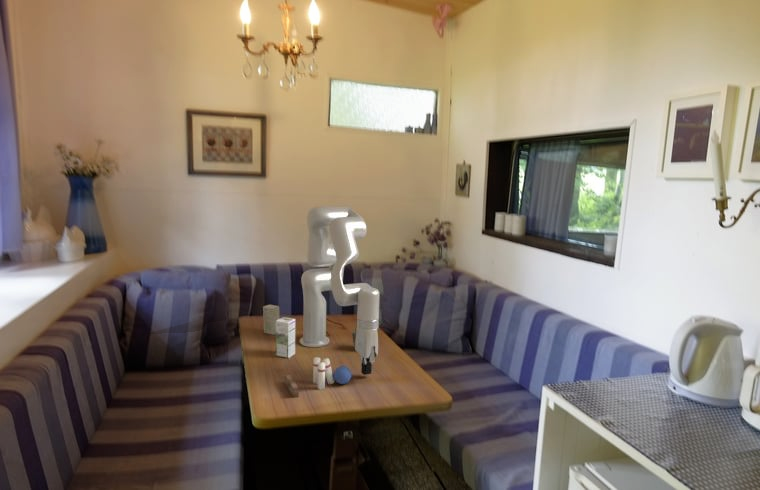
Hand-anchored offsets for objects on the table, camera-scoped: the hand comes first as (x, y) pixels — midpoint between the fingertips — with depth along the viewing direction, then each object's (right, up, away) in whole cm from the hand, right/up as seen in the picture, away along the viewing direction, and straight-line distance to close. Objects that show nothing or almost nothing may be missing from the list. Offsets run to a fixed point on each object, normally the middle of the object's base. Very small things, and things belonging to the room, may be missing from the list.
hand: (366, 373), depth 169 cm
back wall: (-24, -2, -11) cm, 27 cm away
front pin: (-12, -2, -5) cm, 13 cm away
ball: (-8, +1, -6) cm, 10 cm away
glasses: (-20, +6, +52) cm, 55 cm away
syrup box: (-32, +2, +19) cm, 37 cm away
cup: (-3, +2, +27) cm, 28 cm away
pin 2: (-15, -2, -9) cm, 18 cm away
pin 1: (-17, -2, -5) cm, 18 cm away
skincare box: (-44, +6, +45) cm, 63 cm away
